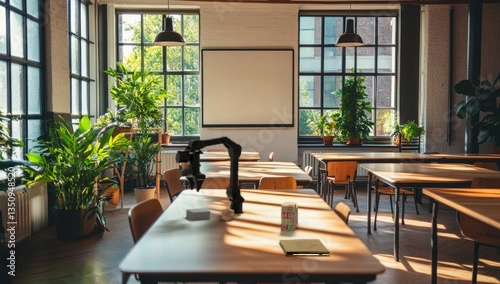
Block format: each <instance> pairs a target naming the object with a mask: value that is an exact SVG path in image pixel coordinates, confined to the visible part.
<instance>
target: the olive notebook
mask: <svg viewBox="0 0 500 284" xmlns="http://www.w3.org/2000/svg"><path fill="white" fill-rule="evenodd" d="M279 245H280V247H281V248H282V251H283V253H284V255H285V256H286V255H293V254H329V255H330V251H329V249H328V248H327V247H326V246H325V245H324V244H323V243H322V241H321V240H320V239H318V238H316V239H315V238H305V239H304V238H299V239H298V238H297V239H280V240H279Z"/></svg>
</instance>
